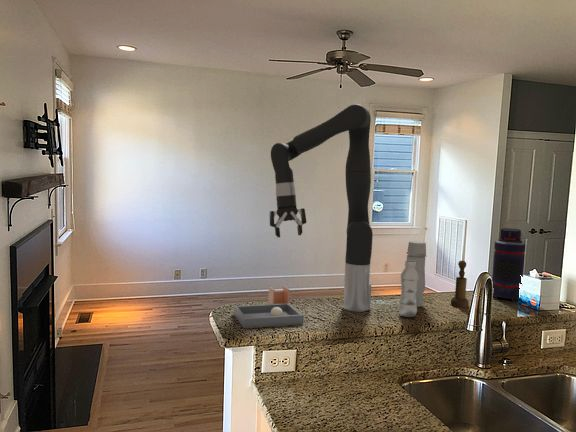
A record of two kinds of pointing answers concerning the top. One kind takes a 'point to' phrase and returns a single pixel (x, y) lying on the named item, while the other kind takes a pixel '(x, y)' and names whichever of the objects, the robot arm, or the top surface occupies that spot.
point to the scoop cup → (278, 296)
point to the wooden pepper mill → (460, 288)
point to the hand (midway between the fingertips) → (289, 236)
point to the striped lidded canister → (508, 264)
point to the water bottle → (418, 266)
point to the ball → (276, 311)
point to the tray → (267, 315)
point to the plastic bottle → (408, 290)
